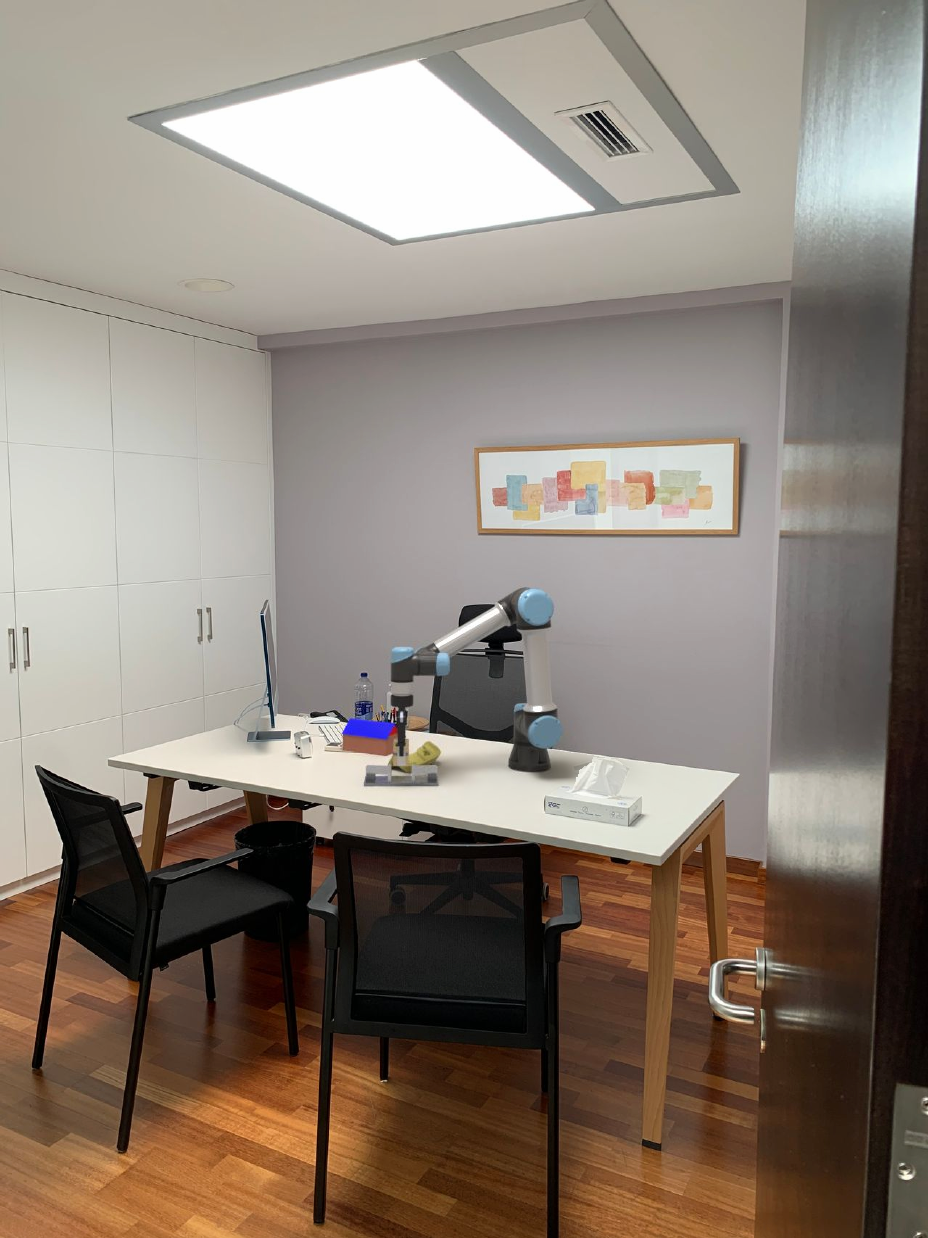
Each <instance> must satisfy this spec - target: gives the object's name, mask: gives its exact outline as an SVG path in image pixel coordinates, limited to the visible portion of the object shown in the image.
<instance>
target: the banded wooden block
mask: <svg viewBox="0 0 928 1238" xmlns="http://www.w3.org/2000/svg"><path fill="white" fill-rule="evenodd" d="M397 743H398V739H394V742H393V754H392V756H393V766H397V746H395V745H397ZM405 743H406V745H405V746H406V763H405V766H408V763H409V755H410V739H409V738H405ZM397 767H398V766H397Z"/></svg>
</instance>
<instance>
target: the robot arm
mask: <svg viewBox="0 0 928 1238" xmlns="http://www.w3.org/2000/svg"><path fill="white" fill-rule="evenodd" d="M554 608H555V606H554V601H553V599H552V598H551V596H550V595H549V594H548V593H546V592H545V591H544V590H542V589H539V588H533V587H532V588H531V587H520V588H518V589H515V590H514V591H512V592H511V593H508V595H506V596H504V597H503V598H501V599H499V600H498V601H496V602H495V603H494V607H493V606H492V608H490V609H488V610H487V611H484V612H483V613H481V614H480V615H478V616H476V617H475V618H472V619H470V620H469V621H467V622H465V623H464V624H462V625H461V626H459V627H458V628H456V629H453V630H452V631H451V632H449V633H446V634H445V635H443V636H442V637H440V638H439V639H437V640H435V641H434V642H431V643H430V644H428V645H427V646H422V647H419V648H417V649H416V650H415V649H414V648H413V647H410V646H396V647H393V648H392V649H391V654H390V683H389V684H388V687H389V688H390V693H391V695H390V706H391V707H393V708H398V710H396V711H395V718H396V723H395V724H396V726H397V727H398V743H397V745H395V746H397V767H399V766H405V763H406V746H405V745H406V743H405V739H407V738H406V737H407V736H406V730H407V729H406V726H407V725H408V717H409V716H408V715H409V711H408V710H407V709H406V708H411V707H413V706H414V695H413V693H414V688H415V687H414V686H415V682H414V679H415V677H422V676H423V677H424V676H425V677H428V676H429V677H434V676H435V677H441V676H448V675H449V674H450V670H451V660H450V658H452V657H454V656H456V655H457V654H458V653H461V652H462V651H464V650H465V649H468V648H469V647H471V646H472V645H474V644H476V643H478V642H479V641H481V640H483V639H484V638H487V637H488V636H490V635H491V634H493V633H495V632H496V631H498V630H500V629H502V628H503V627H506V626H507V627H511V626H513V625H514V624H516V631H517V632H518V633H520V634H521V640H522V641H521V642H522V650H523V651H522V652H523V668H524V678H525V690H526V691H525V694H526V702H521V703H516V704H515V705H514V709H513V745H512V748H511V751H510V754H509V758H508V766H507V767H509V768H510V769H511V770H516V771H520V772H521V771H522V772H543V771H547V770H550V768H551V765H552V764H551V763H552V762H551V758H550V755H549V751H548V749H549V748H550V749H551V748H553V747H554V746H557V744H558V743H559V742H560V740H561V738H562V737H563V733H564V731H563V725H562V723H561V721H560V720H559V716H558V714H559V713H558V705H556V704H555V703H554V702H553V695H552V682H551V681H552V680H551V669H550V667H551V666H550V654H549V651H550V650H549V641H548V638H549V637H548V632H549V631H550V630H551V629H552V621H551V620H552V617H553V615H554V611H555V610H554Z"/></svg>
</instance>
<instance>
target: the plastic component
mask: <svg viewBox="0 0 928 1238" xmlns="http://www.w3.org/2000/svg"><path fill="white" fill-rule="evenodd" d="M441 753H442V751H441V749H440V748H439V746H437V745H436V744H435V743H433V742H432V741H430V740H428V741H426V742H424V743H423V744H422V746H421V747H418V748H417V749H416V751H415V752H413V753H412V752H411V753H409V763H408V766H393V755H392V756H391V758H390V759H389V760H388V763H387V765H386V766H388V765H389V764H392V769H394V768H396V767H399V768H400V769H401V770H402V771H404V772H405V773H409V774H412V764H415V766H420V765H432V764H431V763H433V762H435V761H436V760H437V759H439V757H440V756H441Z"/></svg>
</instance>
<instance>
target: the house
mask: <svg viewBox="0 0 928 1238" xmlns="http://www.w3.org/2000/svg"><path fill="white" fill-rule="evenodd" d="M341 735H342V751H345V752H351V753H360V754H367V755H368V754H369V755H372V756H373V755H375V756H382V757H387V756H390V755H393V742H394V739H398V725H397V724H396V723H394V722H388V721H387V722H385V721H378V720H377V721H376V720H369V719H360V718H351V717H350V718H349V719H348V721H347V723H346V725H345V726H344V728H343V730H342V732H341Z"/></svg>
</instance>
